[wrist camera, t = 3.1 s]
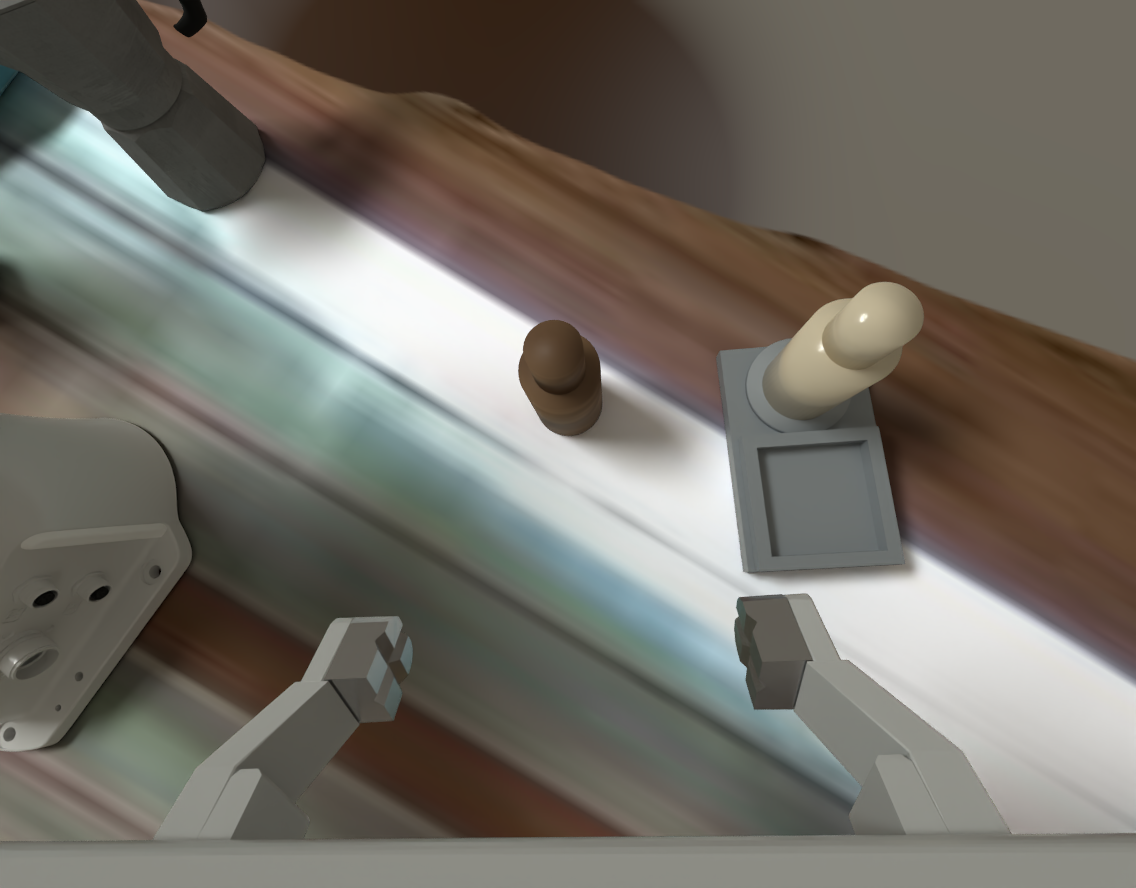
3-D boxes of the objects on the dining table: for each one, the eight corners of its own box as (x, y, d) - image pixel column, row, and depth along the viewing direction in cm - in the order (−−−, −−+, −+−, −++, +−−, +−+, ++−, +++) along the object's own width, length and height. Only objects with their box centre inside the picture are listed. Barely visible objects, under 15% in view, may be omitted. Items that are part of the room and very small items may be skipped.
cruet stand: (890, 563, 30) (1066, 577, 19) (743, 571, 31) (823, 589, 19) (849, 343, 33) (979, 237, 21) (715, 354, 34) (771, 257, 22)
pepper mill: (587, 445, 33) (579, 405, 23) (526, 422, 34) (493, 374, 24) (611, 384, 34) (612, 321, 24) (551, 363, 35) (528, 293, 25)
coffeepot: (181, 250, 39) (-169, 13, 22) (125, 179, 41) (-240, -92, 23) (329, 131, 40) (110, -188, 23) (267, 67, 42) (21, -273, 24)
